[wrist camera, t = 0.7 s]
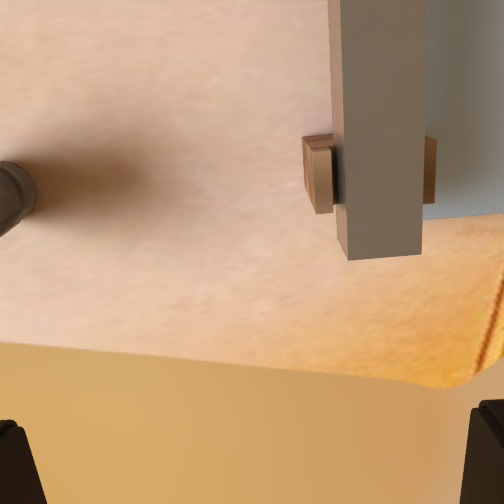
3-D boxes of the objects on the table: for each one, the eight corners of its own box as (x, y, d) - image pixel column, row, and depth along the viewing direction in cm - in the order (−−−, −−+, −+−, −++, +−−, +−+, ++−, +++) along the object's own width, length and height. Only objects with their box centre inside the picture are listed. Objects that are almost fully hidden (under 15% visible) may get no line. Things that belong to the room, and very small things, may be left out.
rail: (319, -204, 21) (331, -266, 18) (405, -217, 21) (436, -282, 17) (337, 237, 29) (347, 260, 25) (400, 232, 29) (421, 254, 25)
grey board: (427, -181, 26) (432, -189, 25) (552, -198, 26) (561, -207, 25) (418, 217, 34) (421, 220, 34) (512, 208, 34) (518, 211, 33)
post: (301, 137, 33) (312, 152, 25) (397, 127, 32) (437, 139, 25) (304, 186, 34) (316, 214, 26) (397, 177, 33) (434, 203, 26)
